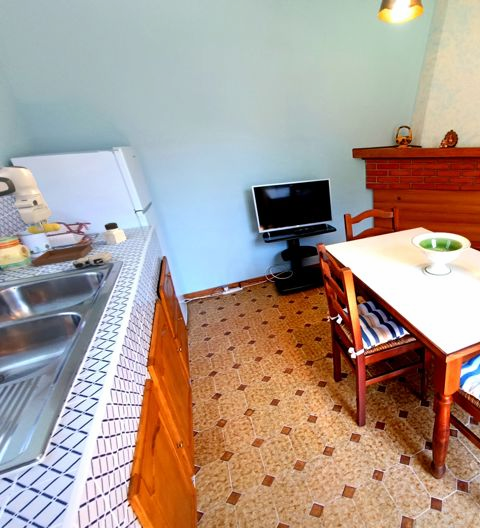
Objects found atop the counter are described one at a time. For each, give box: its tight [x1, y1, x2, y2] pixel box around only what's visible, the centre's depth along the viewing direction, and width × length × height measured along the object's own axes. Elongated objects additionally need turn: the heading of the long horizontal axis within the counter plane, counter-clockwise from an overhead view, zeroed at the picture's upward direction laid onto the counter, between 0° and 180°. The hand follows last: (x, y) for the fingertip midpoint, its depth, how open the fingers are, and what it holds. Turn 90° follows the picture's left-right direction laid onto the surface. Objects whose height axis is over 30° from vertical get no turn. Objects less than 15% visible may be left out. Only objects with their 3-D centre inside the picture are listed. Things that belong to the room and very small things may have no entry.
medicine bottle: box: [102, 222, 127, 245], centre depth 180 cm, size 7×7×12 cm
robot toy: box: [70, 250, 112, 269], centre depth 146 cm, size 12×4×15 cm
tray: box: [31, 244, 93, 268], centre depth 160 cm, size 19×19×3 cm
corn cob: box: [27, 222, 61, 235], centre depth 147 cm, size 12×4×4 cm, turn 116°
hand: (44, 229), depth 147 cm, fingers closed on corn cob, 4 cm apart
